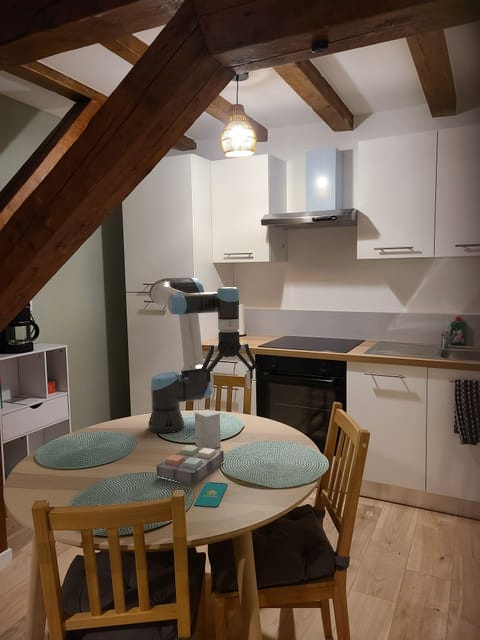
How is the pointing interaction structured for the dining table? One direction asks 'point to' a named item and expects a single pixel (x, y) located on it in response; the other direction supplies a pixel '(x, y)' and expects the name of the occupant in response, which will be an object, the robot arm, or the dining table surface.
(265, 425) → the dining table surface
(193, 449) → the key sage
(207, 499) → the smartphone
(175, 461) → the key terracotta
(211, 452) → the key ivory
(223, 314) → the robot arm
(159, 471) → the keypad
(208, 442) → the small box
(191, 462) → the key blue
